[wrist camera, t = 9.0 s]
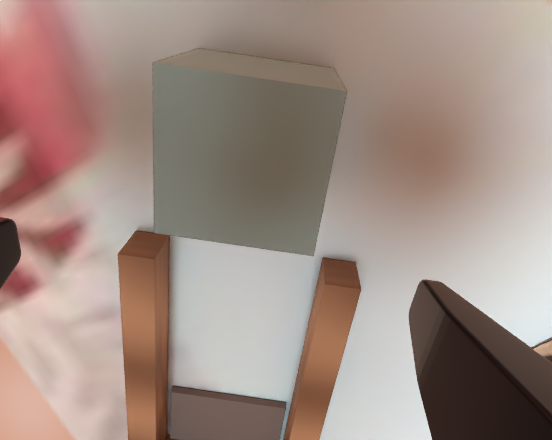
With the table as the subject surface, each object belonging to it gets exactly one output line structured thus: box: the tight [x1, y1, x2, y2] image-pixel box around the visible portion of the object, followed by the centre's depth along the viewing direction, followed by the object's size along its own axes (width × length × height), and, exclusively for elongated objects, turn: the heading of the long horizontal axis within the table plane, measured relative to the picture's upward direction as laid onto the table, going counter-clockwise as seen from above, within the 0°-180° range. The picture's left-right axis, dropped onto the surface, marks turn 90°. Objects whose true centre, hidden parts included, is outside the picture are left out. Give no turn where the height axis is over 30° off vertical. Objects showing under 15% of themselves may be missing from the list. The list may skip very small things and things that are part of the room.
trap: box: [170, 386, 286, 440], centre depth 23 cm, size 4×6×1 cm, turn 83°
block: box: [153, 48, 347, 256], centre depth 14 cm, size 5×5×5 cm
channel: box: [118, 231, 361, 440], centre depth 21 cm, size 16×10×2 cm, turn 173°
